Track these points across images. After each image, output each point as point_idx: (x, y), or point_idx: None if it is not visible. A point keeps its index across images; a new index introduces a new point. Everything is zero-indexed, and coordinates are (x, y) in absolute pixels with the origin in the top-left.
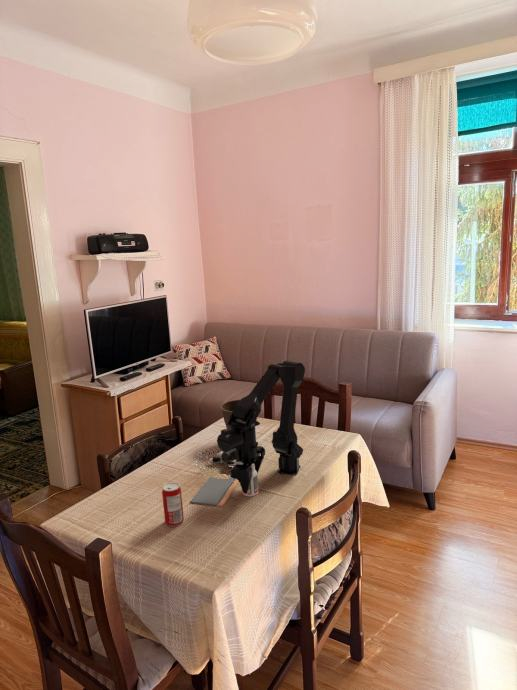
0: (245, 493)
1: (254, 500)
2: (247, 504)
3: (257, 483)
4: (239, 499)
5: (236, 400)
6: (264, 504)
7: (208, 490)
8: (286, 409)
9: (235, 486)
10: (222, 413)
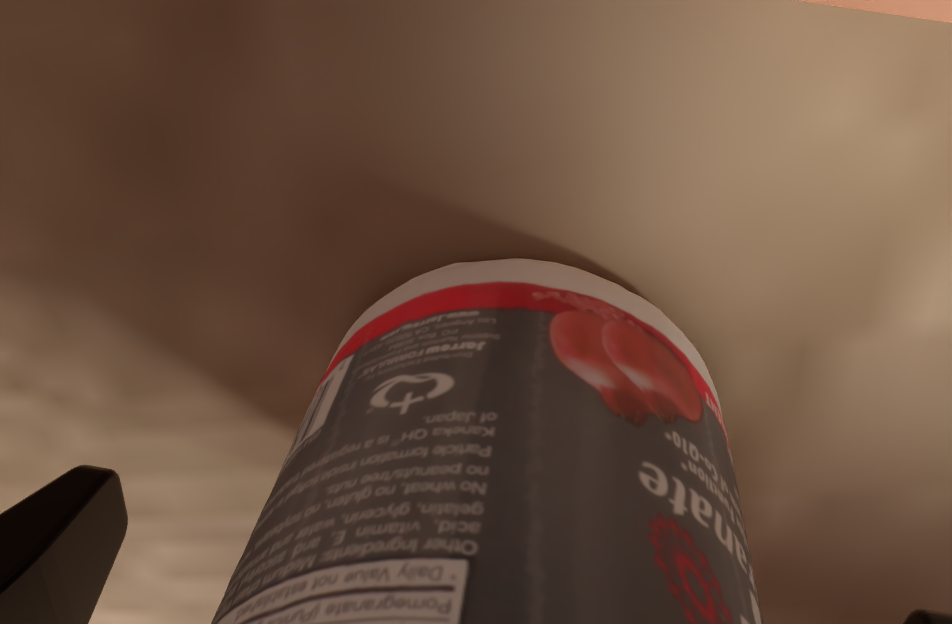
0: (318, 388)
1: (232, 495)
2: (50, 400)
3: None
4: (174, 223)
5: None
6: (161, 617)
7: None
8: None
9: (835, 1)
10: None
